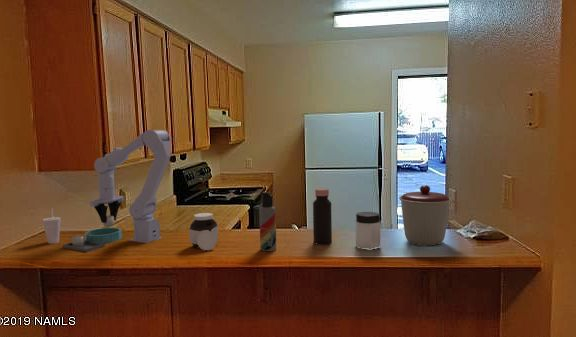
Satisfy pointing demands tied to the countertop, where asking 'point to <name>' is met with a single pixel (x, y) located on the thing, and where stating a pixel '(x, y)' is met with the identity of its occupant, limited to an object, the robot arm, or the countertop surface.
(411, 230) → the canister
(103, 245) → the parts tray
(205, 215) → the spread jar
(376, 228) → the jar
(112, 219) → the pale stone
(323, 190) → the vinegar
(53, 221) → the smoothie
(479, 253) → the countertop surface
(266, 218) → the lotion bottle
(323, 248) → the countertop surface
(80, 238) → the white pebble
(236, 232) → the countertop surface
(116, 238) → the bowl
